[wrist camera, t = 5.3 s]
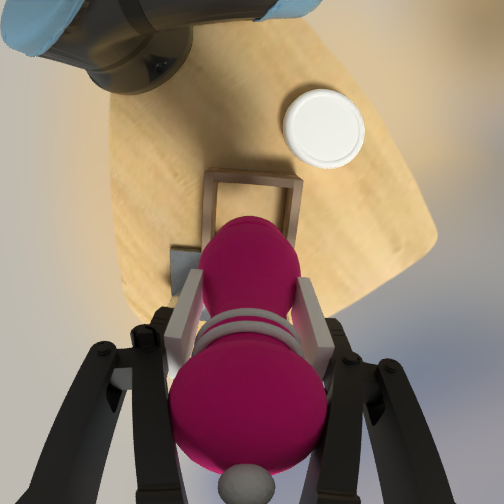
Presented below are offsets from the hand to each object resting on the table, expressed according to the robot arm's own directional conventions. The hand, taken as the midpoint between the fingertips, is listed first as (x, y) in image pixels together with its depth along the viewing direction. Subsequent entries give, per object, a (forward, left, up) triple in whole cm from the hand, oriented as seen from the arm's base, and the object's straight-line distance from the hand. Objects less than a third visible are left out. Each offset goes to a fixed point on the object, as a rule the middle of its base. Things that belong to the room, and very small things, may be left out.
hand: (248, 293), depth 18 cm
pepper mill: (0, 0, -7) cm, 7 cm away
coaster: (-12, +8, -22) cm, 26 cm away
